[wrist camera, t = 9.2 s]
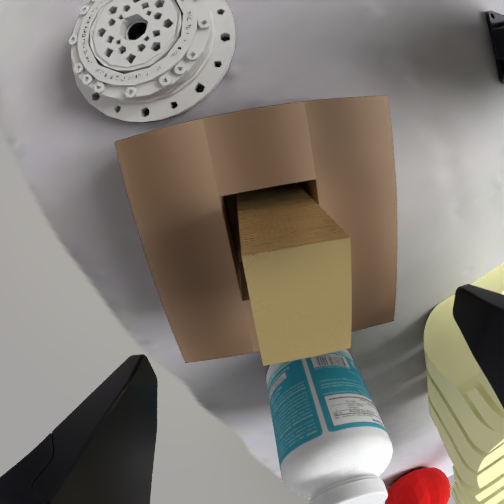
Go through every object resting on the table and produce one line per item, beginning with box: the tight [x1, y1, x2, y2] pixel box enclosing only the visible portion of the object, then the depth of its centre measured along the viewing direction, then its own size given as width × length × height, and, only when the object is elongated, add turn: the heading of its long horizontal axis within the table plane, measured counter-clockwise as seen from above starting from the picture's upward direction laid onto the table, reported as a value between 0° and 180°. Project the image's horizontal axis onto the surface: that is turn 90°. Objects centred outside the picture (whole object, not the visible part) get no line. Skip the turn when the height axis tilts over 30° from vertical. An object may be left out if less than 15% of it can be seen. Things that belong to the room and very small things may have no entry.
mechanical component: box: [68, 0, 235, 122], centre depth 14 cm, size 10×4×10 cm
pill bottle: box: [266, 349, 393, 504], centre depth 19 cm, size 8×7×14 cm
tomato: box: [385, 468, 450, 504], centre depth 35 cm, size 12×12×10 cm
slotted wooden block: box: [115, 96, 397, 363], centre depth 17 cm, size 12×12×6 cm
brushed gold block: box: [236, 183, 352, 366], centre depth 14 cm, size 3×4×10 cm
